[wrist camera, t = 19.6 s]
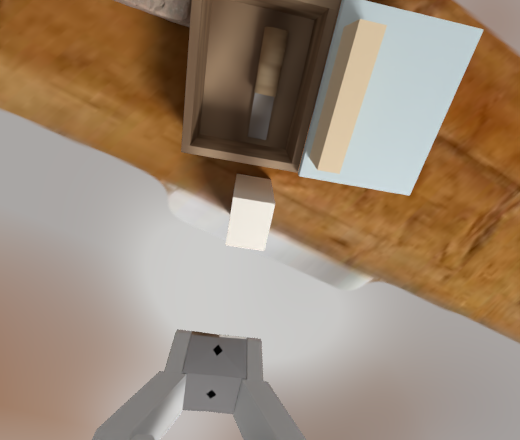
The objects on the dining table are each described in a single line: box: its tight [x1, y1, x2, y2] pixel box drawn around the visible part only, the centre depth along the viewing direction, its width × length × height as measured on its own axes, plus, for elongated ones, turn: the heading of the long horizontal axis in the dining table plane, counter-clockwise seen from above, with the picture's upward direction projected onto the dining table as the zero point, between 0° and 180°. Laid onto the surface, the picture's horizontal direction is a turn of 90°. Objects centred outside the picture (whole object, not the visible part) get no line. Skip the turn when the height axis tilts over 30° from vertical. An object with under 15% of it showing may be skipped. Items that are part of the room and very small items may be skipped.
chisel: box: [248, 27, 289, 140], centre depth 32 cm, size 2×11×2 cm, turn 169°
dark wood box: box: [181, 0, 341, 172], centre depth 30 cm, size 12×15×7 cm
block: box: [226, 174, 275, 251], centre depth 36 cm, size 4×6×8 cm
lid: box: [298, 0, 483, 196], centre depth 26 cm, size 12×15×5 cm
